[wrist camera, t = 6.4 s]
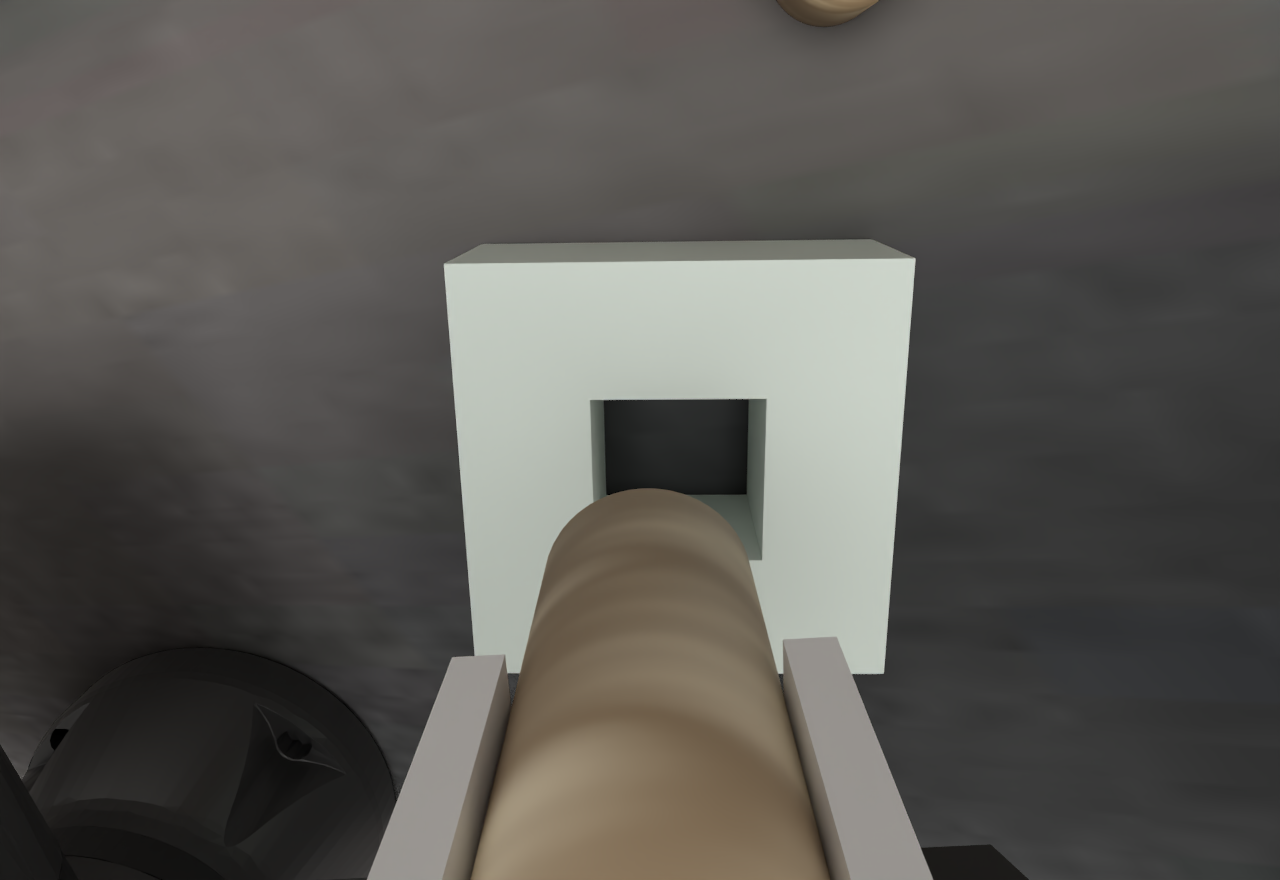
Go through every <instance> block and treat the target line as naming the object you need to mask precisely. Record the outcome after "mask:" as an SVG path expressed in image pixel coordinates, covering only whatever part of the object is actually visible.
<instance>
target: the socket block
mask: <svg viewBox="0 0 1280 880" xmlns="http://www.w3.org/2000/svg"><path fill="white" fill-rule="evenodd" d="M914 271H915V258H913V257H911V256H909V255H907V254H904V253H902V252H900V251H897V250H895V249H893V248H891V247H888V246H886V245H884V244H881V243H879V242H877V241H875V240H872V239H847V240H765V241H683V242H602V243H520V244H481V245H479V246H477V247H475V248H473V249H471V250H470V251H468V252H466V253H464V254H462V255H460V256H458V257H456V258H454V259H452V260H450V261H448V262H446V263H444V273H445V286H446V298H447V311H448V324H449V336H450V349H451V362H452V374H453V387H454V400H455V412H456V425H457V437H458V450H459V463H460V475H461V488H462V501H463V513H464V526H465V539H466V551H467V564H468V577H469V589H470V602H471V615H472V627H473V640H474V653H475V656H483V655H502V654H505V658H506V666H507V673H520V671H521V667H522V662H523V658H524V654H525V650H526V646H527V642H528V638H529V633H530V629H531V625H532V621H533V617H534V613H535V608H536V604H537V600H538V596H539V592H540V588H541V584H542V579H543V575H544V571H545V567H546V563H547V559H548V555H549V553H550V550H551V548H552V546H553V543H554V542H555V540H556V538H557V537H558V535H559V533H560V532H561V530H562V529H563V528H564V527H565V526H566V524H567V523H568V522H569V521H570V520H571V519H572V518H573V517H574V516H575V515H576V514H577V513H578V512H580V511H581V510H583V509H584V508H585V507H587V506H588V505H590V504H592V503H593V502H595V501H597V500H599V499H601V498H603V497H606V496H609V495H606V465H605V429H604V400H661V399H749V412H748V457H747V495H687V496H690V497H692V498H695V499H697V500H699V501H701V502H702V503H704V504H706V505H708V506H709V507H711V508H712V509H713V510H715V511H716V512H717V513H719V514H720V515H721V516H722V517H723V518H724V519H725V520H726V521H727V522H728V523H729V524H730V525H731V527H732V528H733V529H734V531H735V532H736V533H737V535H738V537H739V538H740V540H741V542H742V543H743V546H744V548H745V551H746V553H747V555H748V559H749V563H750V567H751V571H752V575H753V579H754V583H755V586H756V590H757V594H758V598H759V602H760V606H761V610H762V614H763V618H764V621H765V625H766V629H767V633H768V637H769V641H770V645H771V649H772V653H773V656H774V660H775V664H776V668H777V672H778V674H783V639H799V638H817V637H836V636H837V639H838V641H839V644H840V646H841V649H842V651H843V654H844V656H845V659H846V661H847V664H848V667H849V669H850V672H851V674H884V665H885V651H886V638H887V625H888V612H889V599H890V586H891V573H892V560H893V547H894V533H895V520H896V507H897V494H898V481H899V468H900V455H901V442H902V428H903V415H904V402H905V389H906V376H907V363H908V350H909V337H910V324H911V310H912V297H913V284H914Z"/></svg>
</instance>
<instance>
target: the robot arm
mask: <svg viewBox="0 0 1280 880" xmlns="http://www.w3.org/2000/svg"><path fill="white" fill-rule="evenodd" d="M783 679H784V699H785V703H786V707H787V711H788V715H789V719H790V722H791V726H792V730H793V734H794V738H795V742H796V746H797V750H798V754H799V757H800V761H801V765H802V769H803V773H804V777H805V781H806V785H807V789H808V792H809V796H810V800H811V804H812V808H813V812H814V816H815V820H816V824H817V827H818V831H819V835H820V839H821V843H822V847H823V851H824V855H825V859H826V862H827V866H828V870H829V874H830V878H831V880H1029V879H1028V878H1027V877H1025V876H1024V875H1023V874H1022V873H1021V872H1020V871H1019V870H1018V869H1017V868H1016V867H1015V866H1013V865H1012V864H1011V863H1010V862H1009V861H1008V860H1007V859H1006V858H1005V857H1004V856H1003V855H1002V854H1000V853H999V852H998V851H997V850H996V849H995V848H994V847H993V846H992V845H971V846H950V847H929V848H920V845H919V843H918V840H917V837H916V835H915V832H914V830H913V827H912V825H911V822H910V820H909V817H908V815H907V812H906V810H905V807H904V805H903V802H902V800H901V797H900V795H899V792H898V790H897V787H896V785H895V782H894V780H893V777H892V775H891V772H890V770H889V767H888V765H887V762H886V760H885V757H884V755H883V752H882V749H881V747H880V744H879V742H878V739H877V737H876V734H875V732H874V729H873V727H872V724H871V722H870V719H869V717H868V714H867V712H866V709H865V707H864V704H863V702H862V699H861V697H860V694H859V692H858V689H857V687H856V684H855V682H854V679H853V677H852V674H851V672H850V669H849V667H848V664H847V661H846V659H845V656H844V654H843V651H842V649H841V646H840V644H839V641H838V639H837V636H836V637H817V638H799V639H783ZM511 708H512V707H511V699H510V691H509V683H508V675H507V666H506V658H505V654H502V655H483V656H465V657H452V659H451V662H450V664H449V667H448V669H447V672H446V675H445V677H444V680H443V682H442V685H441V688H440V690H439V693H438V695H437V698H436V701H435V703H434V706H433V708H432V711H431V714H430V716H429V719H428V721H427V724H426V727H425V729H424V732H423V734H422V737H421V740H420V742H419V745H418V748H417V750H416V753H415V755H414V758H413V761H412V763H411V766H410V768H409V771H408V774H407V776H406V779H405V781H404V784H403V787H402V789H401V792H400V794H399V797H398V800H397V802H396V805H395V795H394V789H393V785H392V781H391V777H390V774H389V771H388V768H387V766H386V763H385V761H384V759H383V756H382V754H381V752H380V751H379V749H378V747H377V745H376V743H375V742H374V740H373V739H372V737H371V735H370V734H369V733H368V731H367V730H366V729H365V727H364V726H363V725H362V724H361V722H360V721H359V720H358V719H357V718H356V716H355V715H354V714H353V713H352V712H351V711H350V710H349V709H348V708H347V707H346V706H345V705H344V704H342V703H341V702H340V701H339V700H338V699H337V698H336V697H334V696H333V695H332V694H331V693H329V692H328V691H327V690H325V689H324V688H322V687H321V686H320V685H318V684H317V683H315V682H314V681H312V680H310V679H309V678H307V677H305V676H304V675H302V674H300V673H298V672H296V671H294V670H292V669H290V668H287V667H285V666H283V665H281V664H278V663H276V662H273V661H270V660H267V659H264V658H261V657H258V656H254V655H251V654H246V653H242V652H237V651H231V650H224V649H214V648H184V649H174V650H168V651H162V652H158V653H154V654H150V655H146V656H143V657H140V658H137V659H135V660H132V661H130V662H128V663H125V664H124V665H122V666H120V667H118V668H116V669H114V670H113V671H111V672H109V673H108V674H106V675H105V676H104V677H102V678H101V679H100V680H98V681H97V682H96V683H95V684H94V685H93V686H92V687H90V688H89V689H88V690H87V691H86V692H85V693H84V694H83V695H82V696H81V697H80V698H79V699H78V700H77V701H76V702H74V703H73V704H72V705H71V706H70V707H69V708H68V709H67V710H66V711H65V712H64V713H63V714H62V715H61V716H60V717H59V718H58V719H57V720H56V722H55V723H54V724H53V725H52V727H51V728H50V729H49V731H48V732H47V733H46V735H45V736H44V737H43V739H42V741H41V742H40V744H39V746H38V748H37V750H36V752H35V754H34V756H33V758H32V760H31V762H30V765H29V768H28V770H27V772H26V774H25V776H24V778H23V780H21V779H20V777H19V775H18V774H17V772H16V770H15V769H14V767H13V765H12V764H11V762H10V760H9V759H8V757H7V755H6V753H5V752H4V750H3V748H2V747H1V745H0V880H470V879H471V874H472V870H473V866H474V862H475V858H476V854H477V849H478V845H479V841H480V837H481V833H482V829H483V825H484V820H485V816H486V812H487V808H488V804H489V800H490V795H491V791H492V787H493V783H494V779H495V775H496V771H497V766H498V762H499V758H500V754H501V750H502V746H503V741H504V737H505V733H506V729H507V725H508V721H509V716H510V712H511Z"/></svg>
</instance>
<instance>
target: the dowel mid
mask: <svg viewBox="0 0 1280 880" xmlns="http://www.w3.org/2000/svg"><path fill="white" fill-rule="evenodd" d="M878 1H879V0H777V2H778V3H779V5H780V6H781V7H782V8H783V9H784V10H785V11H786V12H787V13H788V14H789V15H790V16H792V17H793V18H794V19H796V20H798V21H800V22H802V23H805V24H808V25H812V26H817V27H829V26H835V25H839V24H842V23H845V22H848V21H849V20H851V19H853V18H855V17H856V16H858V15H859V14H861V13H862V12H864V11H865V10H866V9H868V8H869V7H871V6H872V5H874V4H875V3H877V2H878Z"/></svg>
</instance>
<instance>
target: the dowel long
mask: <svg viewBox="0 0 1280 880" xmlns="http://www.w3.org/2000/svg"><path fill="white" fill-rule="evenodd" d="M470 880H831V878H830V874H829V870H828V866H827V862H826V859H825V855H824V851H823V847H822V843H821V839H820V835H819V831H818V827H817V824H816V820H815V816H814V812H813V808H812V804H811V800H810V796H809V792H808V789H807V785H806V781H805V777H804V773H803V769H802V765H801V761H800V757H799V754H798V750H797V746H796V742H795V738H794V734H793V730H792V726H791V722H790V719H789V715H788V711H787V707H786V703H785V699H784V695H783V691H782V688H781V684H780V680H779V676H778V672H777V668H776V664H775V660H774V656H773V653H772V649H771V645H770V641H769V637H768V633H767V629H766V625H765V621H764V618H763V614H762V610H761V606H760V602H759V598H758V594H757V590H756V586H755V583H754V579H753V575H752V571H751V567H750V563H749V559H748V555H747V553H746V551H745V548H744V546H743V543H742V542H741V540H740V538H739V537H738V535H737V533H736V532H735V531H734V529H733V528H732V527H731V525H730V524H729V523H728V522H727V521H726V520H725V519H724V518H723V517H722V516H721V515H720V514H719V513H717V512H716V511H715V510H713V509H712V508H711V507H709V506H708V505H706V504H704V503H702V502H701V501H699V500H697V499H695V498H692V497H690V496H687V495H685V494H682V493H678V492H674V491H670V490H663V489H656V488H641V489H632V490H626V491H622V492H618V493H614V494H611V495H609V496H606V497H603V498H601V499H599V500H597V501H595V502H593V503H592V504H590V505H588V506H587V507H585V508H584V509H583V510H581V511H580V512H578V513H577V514H576V515H575V516H574V517H573V518H572V519H571V520H570V521H569V522H568V523H567V524H566V526H565V527H564V528H563V529H562V530H561V532H560V533H559V535H558V537H557V538H556V540H555V542H554V543H553V546H552V548H551V550H550V553H549V555H548V559H547V563H546V567H545V571H544V575H543V579H542V584H541V588H540V592H539V596H538V600H537V604H536V608H535V613H534V617H533V621H532V625H531V629H530V633H529V638H528V642H527V646H526V650H525V654H524V658H523V662H522V667H521V671H520V675H519V679H518V683H517V687H516V692H515V696H514V700H513V704H512V708H511V712H510V716H509V721H508V725H507V729H506V733H505V737H504V741H503V746H502V750H501V754H500V758H499V762H498V766H497V771H496V775H495V779H494V783H493V787H492V791H491V795H490V800H489V804H488V808H487V812H486V816H485V820H484V825H483V829H482V833H481V837H480V841H479V845H478V849H477V854H476V858H475V862H474V866H473V870H472V874H471V879H470Z"/></svg>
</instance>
